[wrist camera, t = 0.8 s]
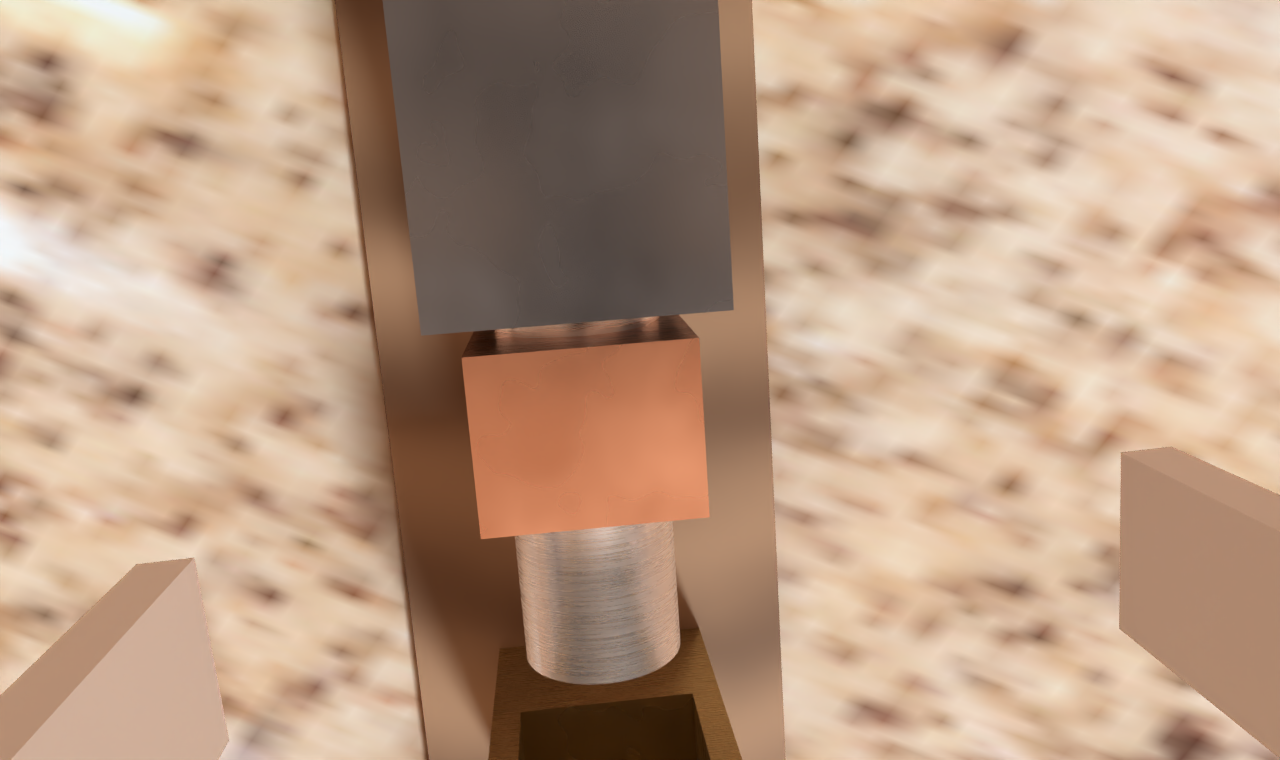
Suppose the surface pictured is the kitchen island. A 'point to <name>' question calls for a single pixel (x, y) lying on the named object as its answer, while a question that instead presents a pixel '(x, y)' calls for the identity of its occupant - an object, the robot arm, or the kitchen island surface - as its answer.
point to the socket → (612, 713)
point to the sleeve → (561, 159)
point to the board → (442, 459)
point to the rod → (590, 483)
